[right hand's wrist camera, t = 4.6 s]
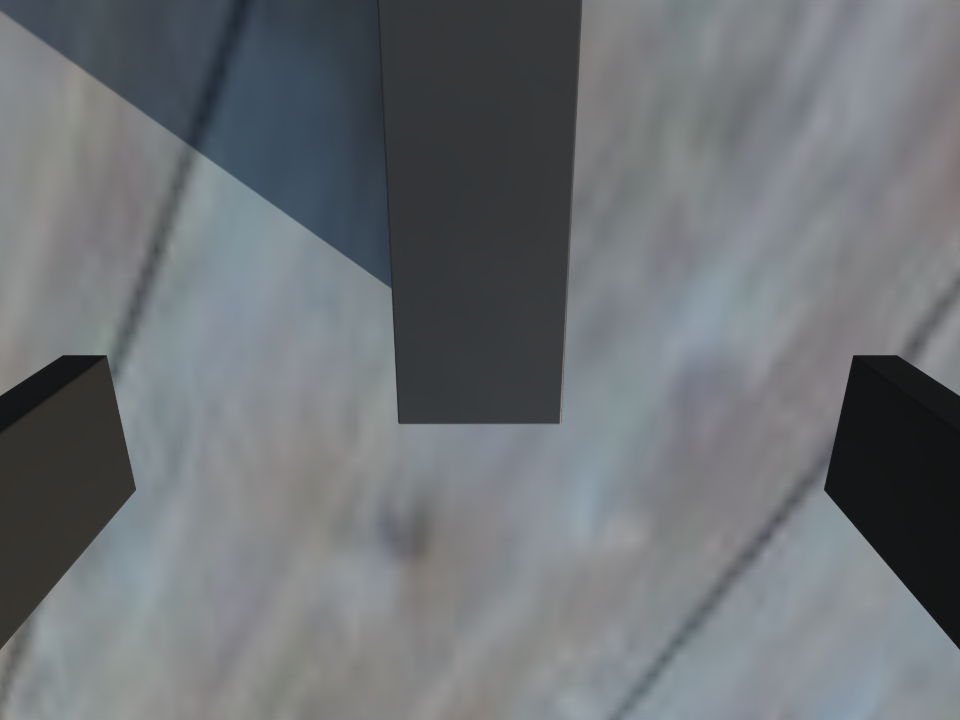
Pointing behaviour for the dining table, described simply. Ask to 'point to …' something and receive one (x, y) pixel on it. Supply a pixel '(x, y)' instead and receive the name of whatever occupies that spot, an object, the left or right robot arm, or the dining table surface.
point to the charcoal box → (479, 203)
